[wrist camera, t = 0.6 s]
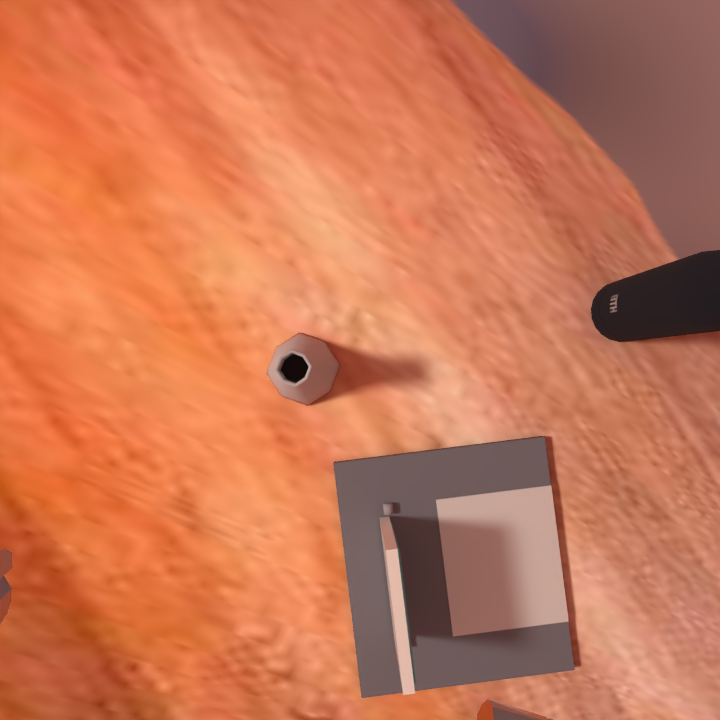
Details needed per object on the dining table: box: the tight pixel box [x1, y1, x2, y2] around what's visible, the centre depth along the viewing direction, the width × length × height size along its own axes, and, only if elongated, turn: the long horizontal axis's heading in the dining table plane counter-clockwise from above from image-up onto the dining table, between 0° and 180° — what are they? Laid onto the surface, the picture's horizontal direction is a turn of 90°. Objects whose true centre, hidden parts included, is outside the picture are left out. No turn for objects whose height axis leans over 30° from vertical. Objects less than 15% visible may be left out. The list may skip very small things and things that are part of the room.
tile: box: [380, 517, 416, 695], centre depth 50 cm, size 12×1×10 cm, turn 7°
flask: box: [267, 333, 340, 406], centre depth 51 cm, size 7×7×10 cm
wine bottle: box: [591, 250, 720, 342], centre depth 42 cm, size 6×6×30 cm
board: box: [334, 436, 575, 698], centre depth 55 cm, size 24×22×2 cm
